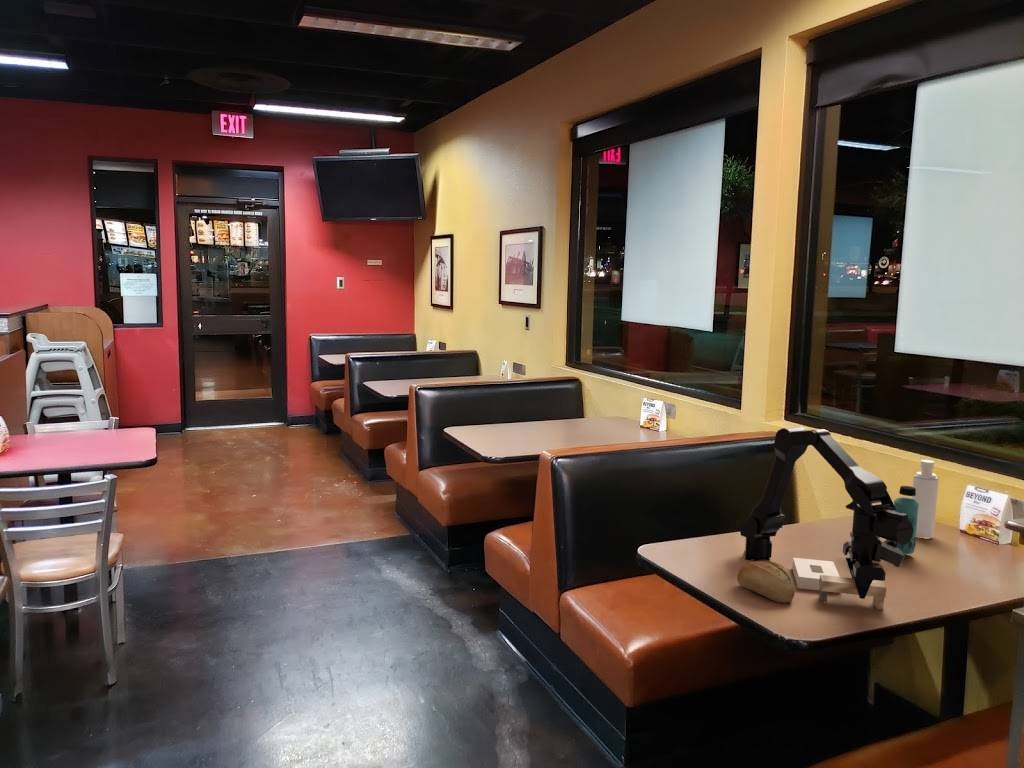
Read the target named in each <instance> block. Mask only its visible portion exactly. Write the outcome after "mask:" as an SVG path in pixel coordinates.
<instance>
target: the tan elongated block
mask: <svg viewBox="0 0 1024 768" xmlns="http://www.w3.org/2000/svg"><path fill="white" fill-rule="evenodd" d="M819 586H820V591H819V596H818V597H819V600H820V602H826V603H825V604H827V602H828V593H839V594H846V595H847V594H848V595H857V596H859V594H858V591H857V588H856V585H855V581H854V578H852V577H846V576H840V577H837V576H827V575H820V580H819ZM886 596H887V587H886V584H885V583H884V581H879V580H873V581H872V583H871V585H870V587H869V590H868V592H867V595H866V597H872V604H873V606H874V607H875V609H876V610H884V607H885V606H884V605H885V598H886Z"/></svg>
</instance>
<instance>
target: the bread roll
mask: <svg viewBox="0 0 1024 768" xmlns="http://www.w3.org/2000/svg"><path fill="white" fill-rule="evenodd" d="M736 580H737V583H738V584H739V585H740V586H741V587H743V588H745V589H747V590H750V591H752V592H754V593H757V594H759V595H761V596H762V597H765V598H768V599H770V600H771V601H773V602H777V603H780V602H783V603H782V604H787V602H788V603H790V602H793V599H794V597H795V594H796V591H795V590H796V588H795V585H794V581H793V578H792V576H791V572H790V571H789V570H788V569H787V568H785V567H784V566H783V565H782V564H779V563H778V562H776V561H772V560H770V561H768V560H764V559H763V560H760V561H752V562H749V563H747V564H746V565H744V566H742V567H741V568H740V569H739V571H738V573H737V575H736Z"/></svg>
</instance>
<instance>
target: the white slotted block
mask: <svg viewBox="0 0 1024 768" xmlns="http://www.w3.org/2000/svg"><path fill="white" fill-rule="evenodd" d="M791 568H792V572H793V575H794V579H795V582H796V586H797V588H798V589H801V588H802V590H803V589H804V590H813V591H819V592H820V586H819V580H820V575H827V576H837V577H841V576H840V574H839V571H838V570H837V567H836V565H835V563H834V561H831V560H822V559H821V560H819V559H811V558H801V557H800V558H799V557H793V558H792V567H791Z"/></svg>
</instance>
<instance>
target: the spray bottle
mask: <svg viewBox="0 0 1024 768" xmlns="http://www.w3.org/2000/svg"><path fill="white" fill-rule="evenodd" d="M934 468H935V461H934V460H929V459H920V471H917V472H916V473H915V474H913V478H912V479H913V480H912V481H913V482H912V487H914V488H915V489H916V495H915V496H911V498H913V499H915V500H916V501H917V502H918V503H919V507H918V517H917V529H916V536H918V537H933V538H934V536H935V522H936V511H937V501H938V492H939V481H940V480H939V478H940V477H939V476H938V475H937V474H936V473H933V469H934Z"/></svg>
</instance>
